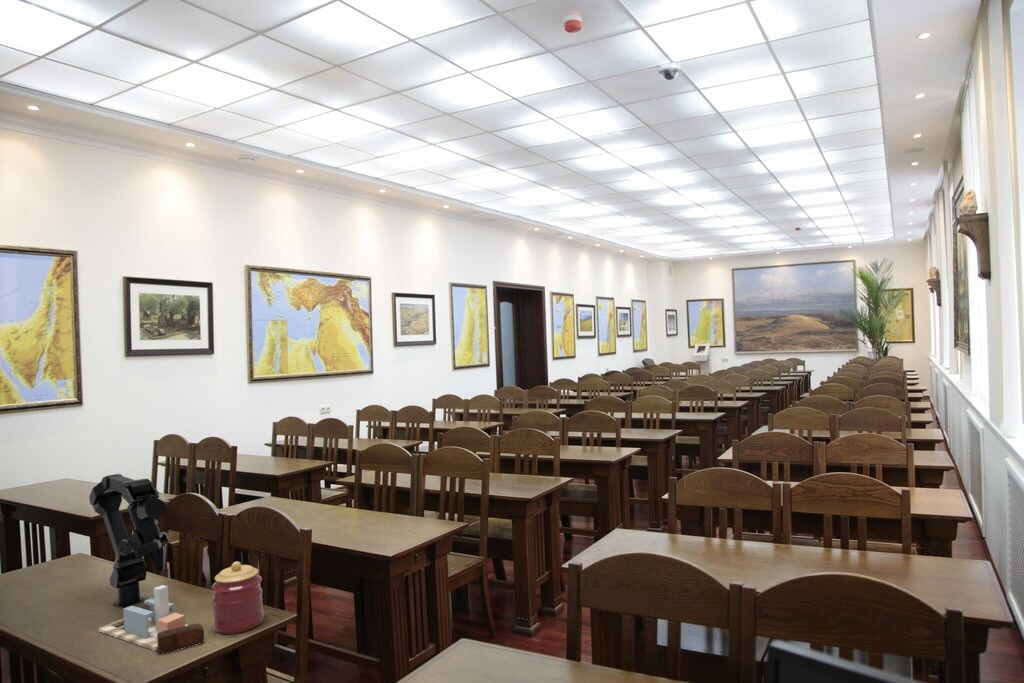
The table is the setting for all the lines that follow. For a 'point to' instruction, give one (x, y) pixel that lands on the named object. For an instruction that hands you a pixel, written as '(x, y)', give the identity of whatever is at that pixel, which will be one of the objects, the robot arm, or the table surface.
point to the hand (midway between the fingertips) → (161, 570)
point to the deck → (118, 631)
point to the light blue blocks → (140, 618)
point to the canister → (237, 599)
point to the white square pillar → (164, 613)
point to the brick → (180, 638)
